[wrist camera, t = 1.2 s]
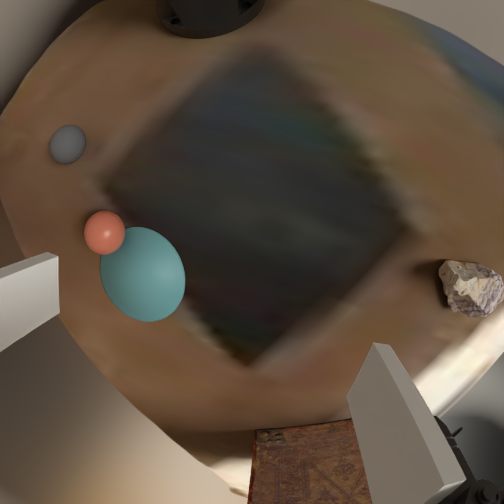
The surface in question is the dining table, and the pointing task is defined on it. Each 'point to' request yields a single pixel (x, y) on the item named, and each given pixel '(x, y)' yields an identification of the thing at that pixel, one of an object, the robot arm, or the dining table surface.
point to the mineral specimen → (471, 287)
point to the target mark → (144, 275)
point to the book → (308, 466)
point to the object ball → (104, 232)
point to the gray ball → (67, 144)
